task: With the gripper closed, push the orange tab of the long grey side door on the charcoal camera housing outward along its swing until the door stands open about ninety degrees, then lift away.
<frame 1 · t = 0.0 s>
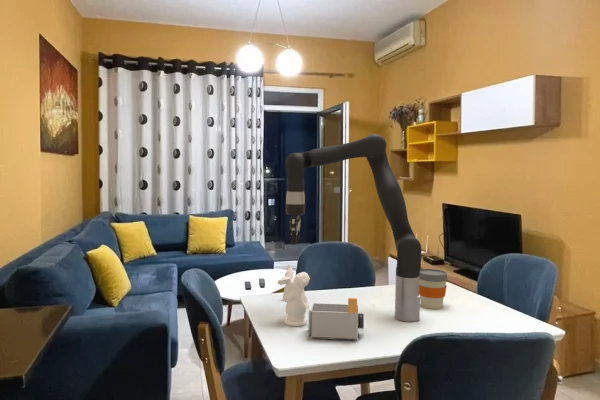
hand: (295, 242, 184), 29 cm above the table, tool pointing down, fingers open, 8 cm apart
reusable coffee cup: (431, 306, 198), on the table
camera housing: (334, 334, 163), on the table
cherub figurine: (291, 324, 174), on the table
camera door: (333, 317, 157), point 8 cm above the table, hinge at 0.0°
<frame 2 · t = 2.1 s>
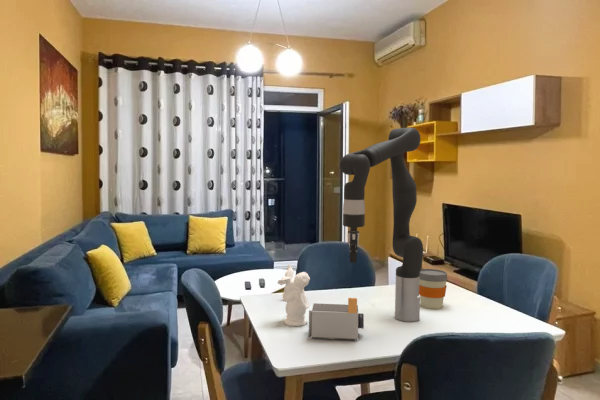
hand: (353, 260, 158), 28 cm above the table, tool pointing down, fingers open, 5 cm apart
nothing on the table moved.
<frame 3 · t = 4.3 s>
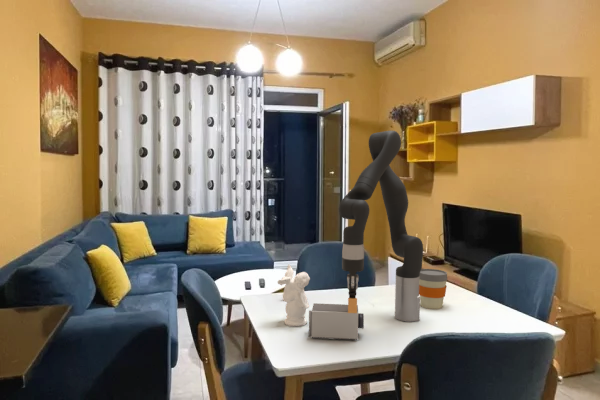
hand: (352, 305, 159), 12 cm above the table, tool pointing down, fingers closed
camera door: (333, 317, 157), point 8 cm above the table, hinge at 0.0°, touching gripper
everything else where it was.
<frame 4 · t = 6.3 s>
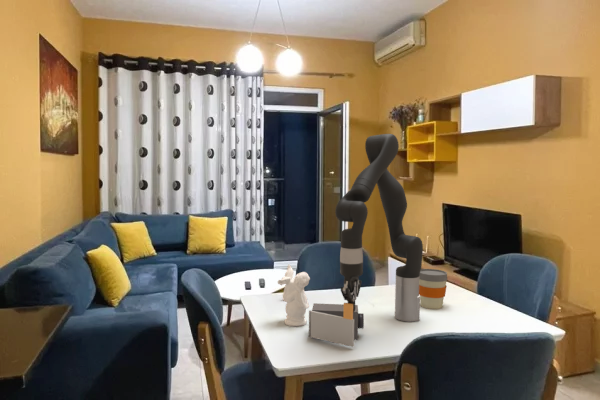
hand: (351, 311, 153), 12 cm above the table, tool pointing down, fingers closed
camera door: (330, 320, 154), point 8 cm above the table, hinge at 26.3°, touching gripper
everything else where it was.
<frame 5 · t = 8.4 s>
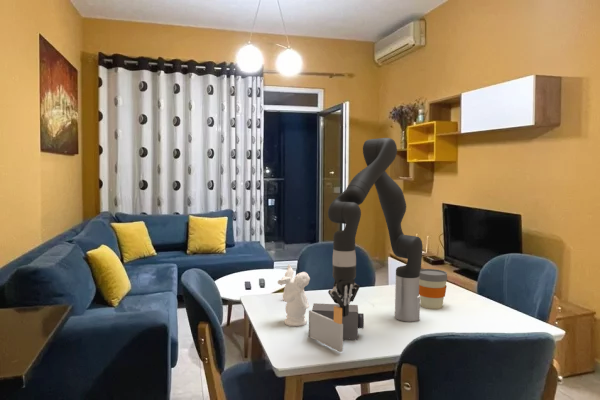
hand: (344, 315, 148), 12 cm above the table, tool pointing down, fingers closed
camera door: (324, 323, 152), point 8 cm above the table, hinge at 48.2°, touching gripper
everything else where it was.
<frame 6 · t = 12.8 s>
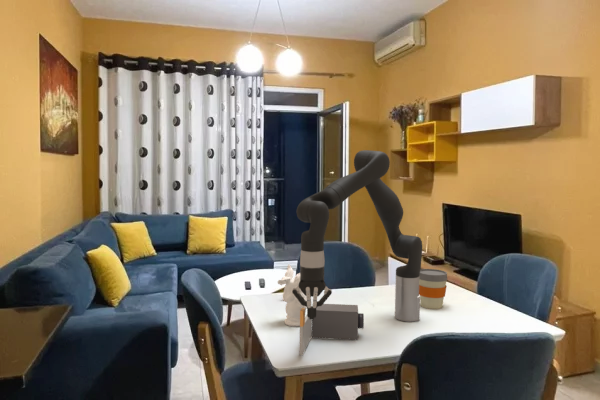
hand: (311, 318, 143), 12 cm above the table, tool pointing down, fingers closed
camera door: (306, 324, 150), point 8 cm above the table, hinge at 95.6°
everything else where it was.
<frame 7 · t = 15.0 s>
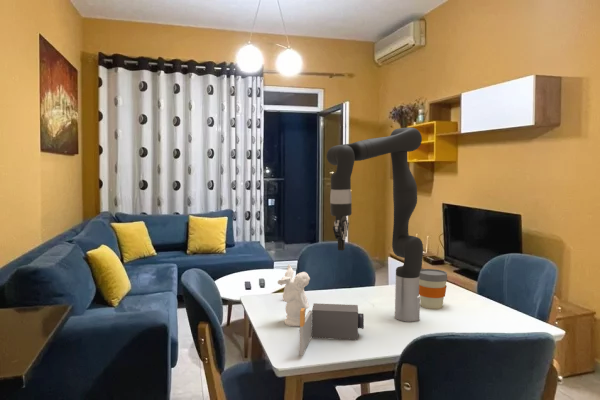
hand: (341, 249, 163), 30 cm above the table, tool pointing down, fingers closed
nothing on the table moved.
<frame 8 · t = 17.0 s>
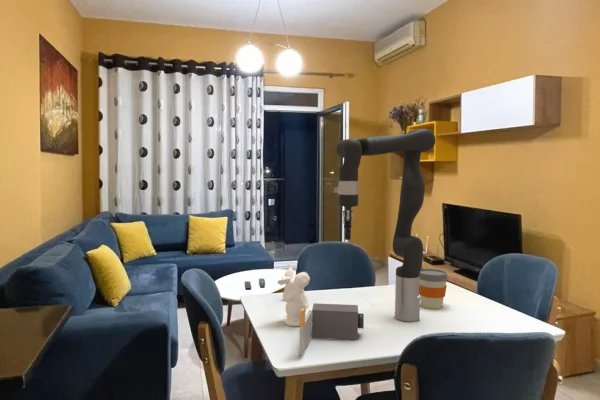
hand: (347, 239, 170), 33 cm above the table, tool pointing down, fingers closed
nothing on the table moved.
at the end: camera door at +96° (first picture: +0°) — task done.
